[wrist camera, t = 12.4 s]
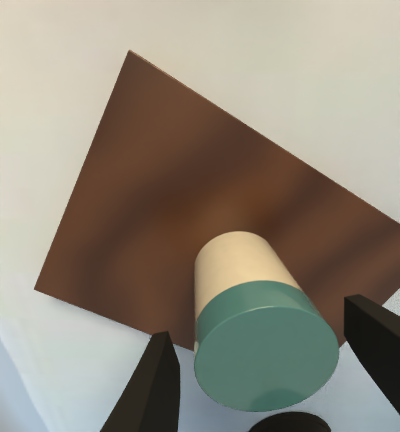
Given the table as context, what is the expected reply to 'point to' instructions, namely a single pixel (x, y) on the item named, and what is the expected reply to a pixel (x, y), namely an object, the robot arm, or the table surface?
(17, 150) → the table surface
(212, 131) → the walnut board
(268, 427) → the aerosol can
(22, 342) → the table surface
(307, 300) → the cream jar
